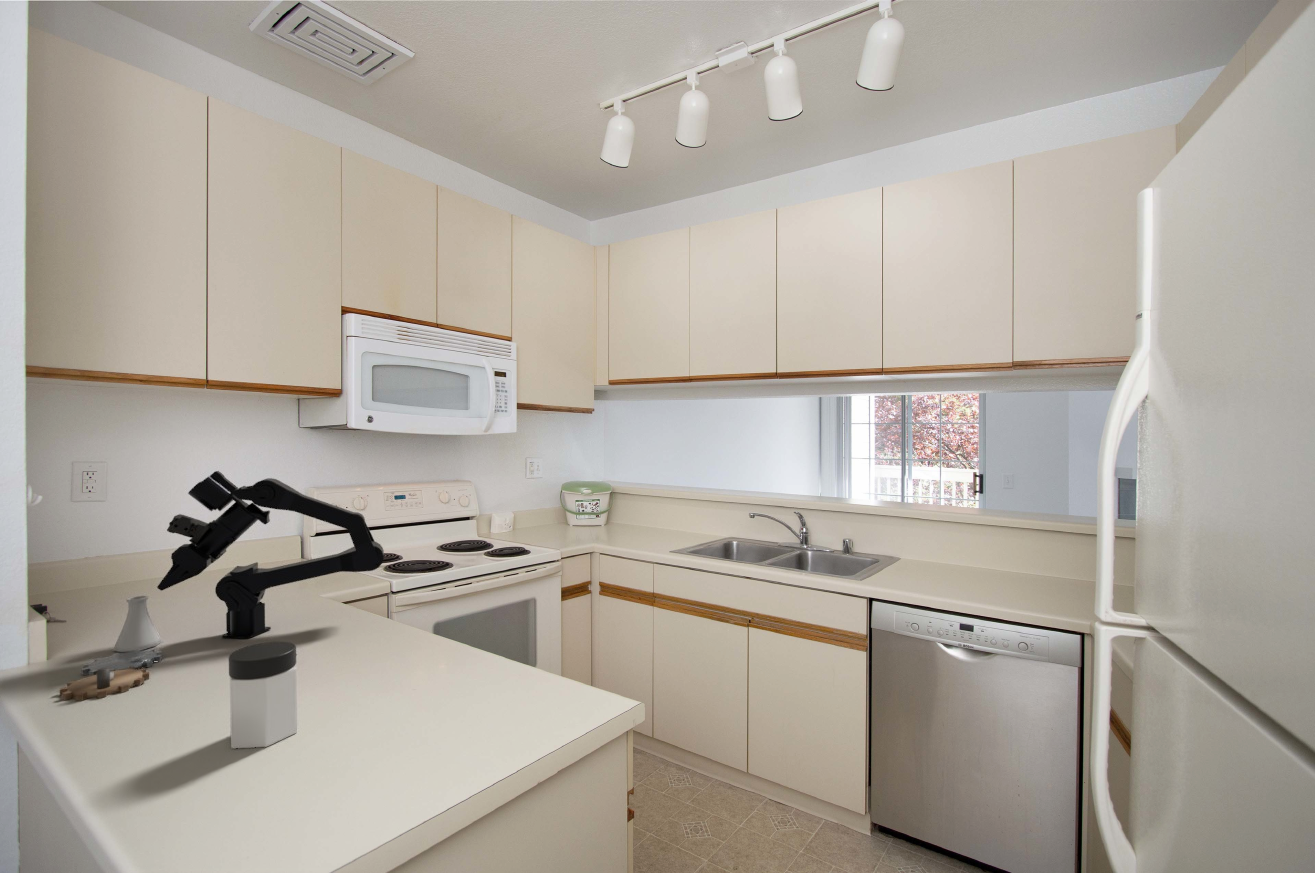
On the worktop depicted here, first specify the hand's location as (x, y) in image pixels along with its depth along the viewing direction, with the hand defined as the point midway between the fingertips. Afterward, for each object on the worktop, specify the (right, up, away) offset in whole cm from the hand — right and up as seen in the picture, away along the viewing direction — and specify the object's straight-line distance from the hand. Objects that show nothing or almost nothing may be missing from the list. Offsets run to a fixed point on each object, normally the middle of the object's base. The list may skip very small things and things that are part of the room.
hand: (166, 583), depth 126 cm
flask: (-4, -13, -2) cm, 13 cm away
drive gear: (+7, -12, -21) cm, 25 cm away
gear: (+1, -12, -12) cm, 17 cm away
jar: (+44, -13, -38) cm, 60 cm away
